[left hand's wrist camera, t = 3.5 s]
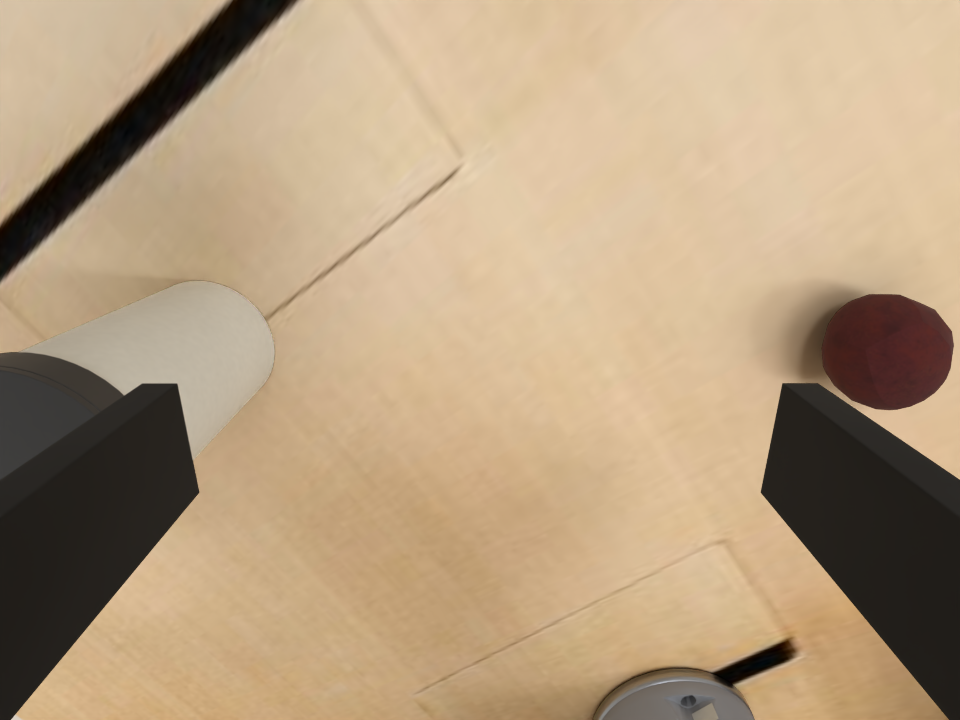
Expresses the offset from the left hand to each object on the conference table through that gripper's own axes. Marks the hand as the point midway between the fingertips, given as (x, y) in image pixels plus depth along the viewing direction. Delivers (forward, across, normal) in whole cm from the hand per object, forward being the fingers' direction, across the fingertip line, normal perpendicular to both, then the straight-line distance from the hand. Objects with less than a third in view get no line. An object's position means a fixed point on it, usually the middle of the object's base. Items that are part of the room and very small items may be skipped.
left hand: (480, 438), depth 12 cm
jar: (+28, -20, -7) cm, 35 cm away
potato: (+28, +27, -6) cm, 39 cm away
